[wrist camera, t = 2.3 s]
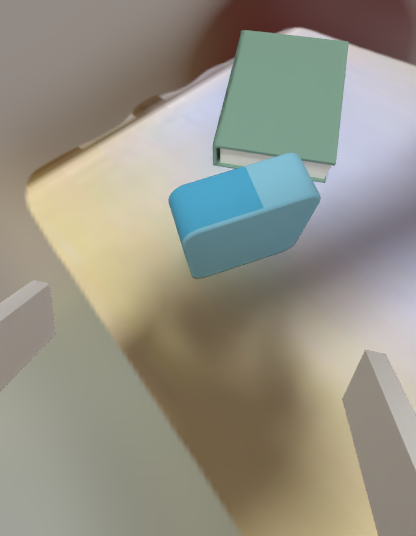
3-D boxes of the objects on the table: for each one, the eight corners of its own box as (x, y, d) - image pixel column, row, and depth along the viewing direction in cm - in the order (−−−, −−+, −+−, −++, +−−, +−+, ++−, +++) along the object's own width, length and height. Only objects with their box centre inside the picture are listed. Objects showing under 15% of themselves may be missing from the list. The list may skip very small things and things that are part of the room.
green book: (337, 70, 44) (348, 41, 40) (324, 183, 38) (335, 163, 35) (240, 58, 46) (241, 29, 42) (213, 166, 40) (212, 144, 36)
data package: (278, 215, 37) (303, 146, 26) (293, 248, 36) (327, 191, 24) (182, 246, 36) (164, 189, 25) (193, 281, 35) (180, 238, 24)
